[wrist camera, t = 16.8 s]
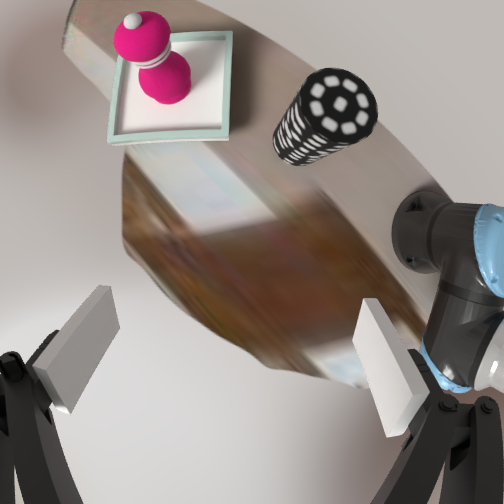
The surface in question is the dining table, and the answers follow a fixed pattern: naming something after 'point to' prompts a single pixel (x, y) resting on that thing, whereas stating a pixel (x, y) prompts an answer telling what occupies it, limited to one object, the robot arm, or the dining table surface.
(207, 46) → the rolling base
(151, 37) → the pepper mill
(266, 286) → the dining table surface
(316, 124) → the white-spotted black cylinder
